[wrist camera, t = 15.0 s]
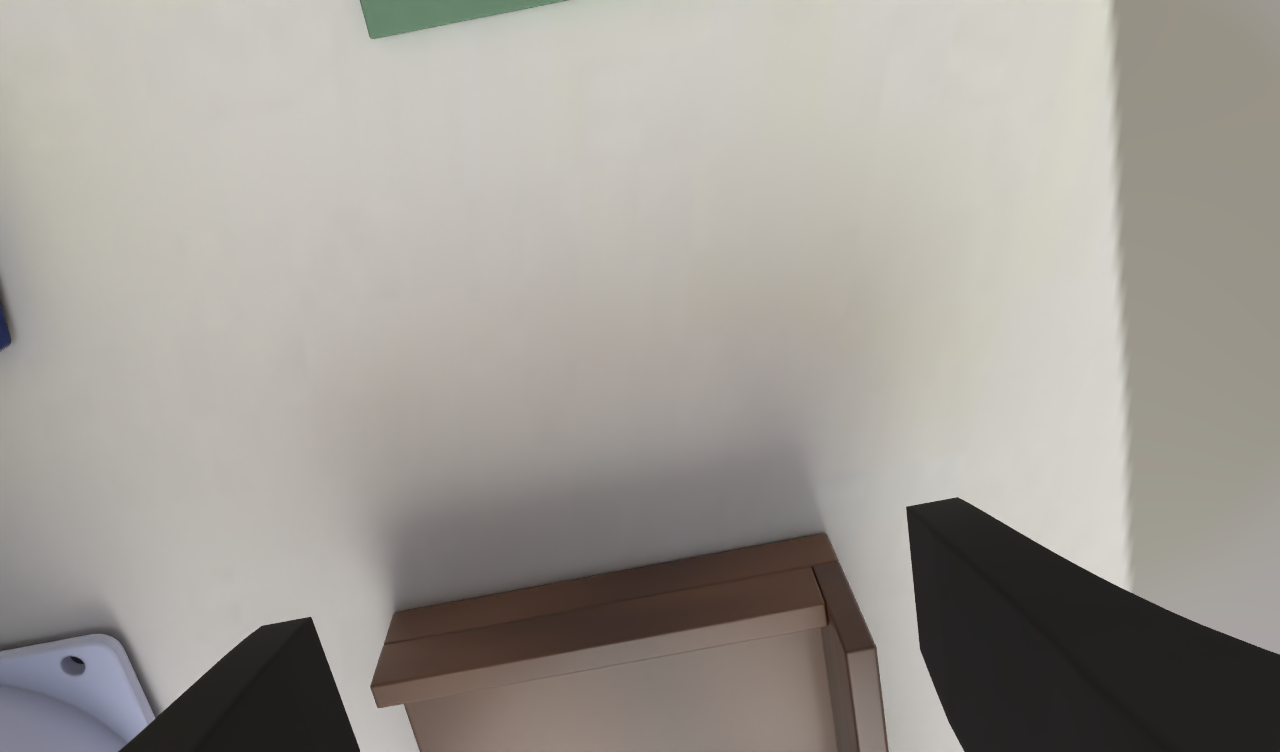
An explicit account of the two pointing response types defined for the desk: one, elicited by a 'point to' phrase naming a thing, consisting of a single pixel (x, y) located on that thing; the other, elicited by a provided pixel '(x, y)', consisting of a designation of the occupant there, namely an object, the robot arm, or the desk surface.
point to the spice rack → (647, 661)
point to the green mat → (433, 13)
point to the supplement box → (3, 331)
